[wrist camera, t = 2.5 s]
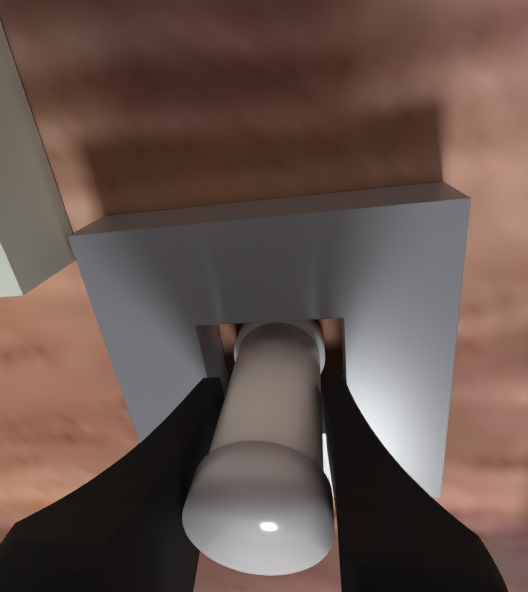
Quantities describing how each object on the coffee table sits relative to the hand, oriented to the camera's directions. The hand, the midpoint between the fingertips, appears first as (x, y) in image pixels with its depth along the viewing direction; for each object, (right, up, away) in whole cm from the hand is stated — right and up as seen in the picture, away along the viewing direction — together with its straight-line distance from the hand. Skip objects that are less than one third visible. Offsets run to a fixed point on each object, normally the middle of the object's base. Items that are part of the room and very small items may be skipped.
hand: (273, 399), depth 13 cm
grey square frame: (0, +1, +3) cm, 3 cm away
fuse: (0, +1, +3) cm, 3 cm away
